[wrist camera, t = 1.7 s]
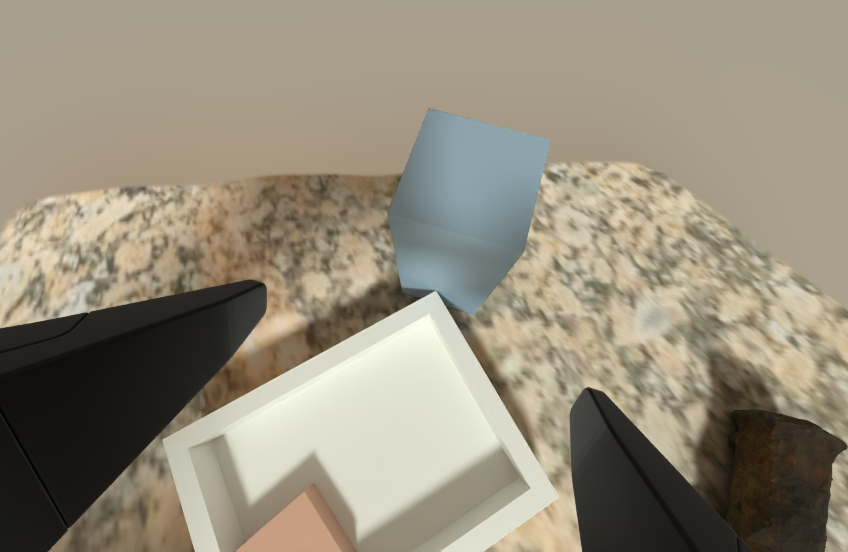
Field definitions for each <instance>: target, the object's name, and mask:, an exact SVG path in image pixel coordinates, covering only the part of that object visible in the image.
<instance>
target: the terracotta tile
mask: <svg viewBox="0 0 848 552" xmlns="http://www.w3.org/2000/svg"><path fill="white" fill-rule="evenodd" d="M235 552H357V551H356V549H355V548H354V546H353V545H352V543H351V541H350V540H349V538H348V537H347V535H346V533H345V532H344V530H343V529H342V527H341V526H340V524H339V522H338V521H337V519H336V518H335V516H334V514H333V513H332V511H331V510H330V508H329V506H328V505H327V503H326V502H325V500H324V499H323V497H322V495H321V494H320V492H319V491H318V489H317V487H316V486H315V484H314V483H313V484H311V485H310V486H309V487H308V488H307V489H306V490H305V491H303V492H302V493H301V494H300V495H299V496H298V497H296V498H295V499H294V500H293V501H292V502H291V503H290V504H288V505H287V506H286V507H285V508H284V509H283V510H282V511H280V512H279V513H278V514H277V515H276V516H275V517H273V518H272V519H271V520H270V521H269V522H268V523H267V524H265V525H264V526H263V527H262V528H261V529H260V530H258V531H257V532H256V533H255V534H254V535H253V536H252V537H250V538H249V539H248V540H247V541H246V542H245V543H244V544H243V545H242V546H240V547H239V548H238V549H237V550H236V551H235Z"/></svg>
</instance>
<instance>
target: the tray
mask: <svg viewBox="0 0 848 552" xmlns="http://www.w3.org/2000/svg"><path fill="white" fill-rule="evenodd" d="M162 441H163V444H164V447H165V451H166V454H167V458H168V461H169V465H170V468H171V471H172V475H173V478H174V482H175V485H176V488H177V492H178V495H179V499H180V502H181V506H182V509H183V512H184V516H185V519H186V523H187V526H188V530H189V533H190V536H191V540H192V543H193V547H194V550H195V552H235V551H236V550H237V549H238V548H239V547H240V546H242V545H243V544H244V543H245V542H246V541H247V540H248V539H249V538H250V537H252V536H253V535H254V534H255V533H256V532H257V531H258V530H260V529H261V528H262V527H263V526H264V525H265V524H267V523H268V522H269V521H270V520H271V519H272V518H273V517H275V516H276V515H277V514H278V513H279V512H280V511H282V510H283V509H284V508H285V507H286V506H287V505H288V504H290V503H291V502H292V501H293V500H294V499H295V498H296V497H298V496H299V495H300V494H301V493H302V492H303V491H305V490H306V489H307V488H308V487H309V486H310V485H311V484H313V483H314V484H315V486H316V487H317V489H318V491H319V492H320V494H321V495H322V497H323V499H324V500H325V502H326V503H327V505H328V506H329V508H330V510H331V511H332V513H333V514H334V516H335V518H336V519H337V521H338V522H339V524H340V526H341V527H342V529H343V530H344V532H345V533H346V535H347V537H348V538H349V540H350V541H351V543H352V545H353V546H354V548H355V549H356V551H357V552H483V551H485V550H486V549H488V548H489V547H490V546H492V545H493V544H495V543H496V542H497V541H499V540H500V539H502V538H503V537H504V536H506V535H507V534H509V533H510V532H511V531H513V530H514V529H516V528H517V527H518V526H520V525H521V524H523V523H524V522H525V521H527V520H528V519H530V518H531V517H532V516H534V515H535V514H537V513H538V512H539V511H541V510H542V509H544V508H545V507H546V506H548V505H549V504H551V503H552V502H553V501H555V500H556V499H558V498H559V496H558V495H557V493H556V491H555V490H554V488H553V486H552V485H551V483H550V481H549V479H548V478H547V476H546V474H545V473H544V471H543V469H542V468H541V466H540V464H539V463H538V461H537V459H536V458H535V456H534V454H533V453H532V451H531V449H530V448H529V446H528V444H527V442H526V441H525V439H524V437H523V436H522V434H521V432H520V431H519V429H518V427H517V426H516V424H515V422H514V421H513V419H512V417H511V416H510V414H509V412H508V411H507V409H506V407H505V405H504V404H503V402H502V400H501V399H500V397H499V395H498V394H497V392H496V390H495V389H494V387H493V385H492V384H491V382H490V380H489V379H488V377H487V375H486V374H485V372H484V370H483V369H482V367H481V365H480V363H479V362H478V360H477V358H476V357H475V355H474V353H473V352H472V350H471V348H470V347H469V345H468V343H467V342H466V340H465V338H464V337H463V335H462V333H461V332H460V330H459V328H458V326H457V325H456V323H455V321H454V320H453V318H452V316H451V315H450V313H449V311H448V310H447V308H446V306H445V305H444V303H443V301H442V300H441V298H440V296H439V295H438V293H437V291H434V292H432V293H431V294H429V295H427V296H425V297H423V298H421V299H420V300H418V301H416V302H414V303H412V304H410V305H409V306H407V307H405V308H403V309H401V310H399V311H398V312H396V313H394V314H392V315H390V316H388V317H387V318H385V319H383V320H381V321H379V322H377V323H376V324H374V325H372V326H370V327H368V328H366V329H364V330H363V331H361V332H359V333H357V334H355V335H353V336H352V337H350V338H348V339H346V340H344V341H342V342H341V343H339V344H337V345H335V346H333V347H331V348H330V349H328V350H326V351H324V352H322V353H320V354H319V355H317V356H315V357H313V358H311V359H309V360H308V361H306V362H304V363H302V364H300V365H298V366H297V367H295V368H293V369H291V370H289V371H287V372H285V373H284V374H282V375H280V376H278V377H276V378H274V379H273V380H271V381H269V382H267V383H265V384H263V385H262V386H260V387H258V388H256V389H254V390H252V391H251V392H249V393H247V394H245V395H243V396H241V397H240V398H238V399H236V400H234V401H232V402H230V403H229V404H227V405H225V406H223V407H221V408H219V409H218V410H216V411H214V412H212V413H210V414H208V415H206V416H205V417H203V418H201V419H199V420H197V421H195V422H194V423H192V424H190V425H188V426H186V427H184V428H183V429H181V430H179V431H177V432H175V433H173V434H172V435H170V436H168V437H166V438H164V439H162Z"/></svg>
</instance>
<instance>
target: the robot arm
mask: <svg viewBox="0 0 848 552" xmlns="http://www.w3.org/2000/svg"><path fill="white" fill-rule="evenodd" d="M266 308H267V289H266V285H265V284H264V283H261V282H258V281H255V280H245V281H240V282H235V283H230V284H225V285H220V286H215V287H210V288H205V289H200V290H195V291H190V292H185V293H180V294H175V295H170V296H165V297H160V298H155V299H151V300H146V301H141V302H136V303H131V304H126V305H121V306H116V307H111V308H106V309H101V310H96V311H91V312H90V313H81V314H76V315H71V316H66V317H61V318H56V319H50V320H45V321H40V322H35V323H29V324H23V325H17V326H12V327H6V328H0V552H48V551H49V550H50V549H51V548H52V547H53V546H54V545H55V544H56V542H57V541H58V540H59V539H60V538H61V537H62V536H63V535H64V534H65V533H66V532H67V531H68V528H70V527H71V526H72V525H73V524H74V523H75V522H76V521H77V520H78V519H79V518H80V517H81V516H82V515H83V514H84V513H85V511H86V510H87V509H88V508H89V507H90V506H91V505H92V504H93V503H94V502H95V501H96V500H97V499H98V498H99V497H100V496H101V495H102V494H103V493H104V491H105V490H106V489H107V488H108V487H109V486H110V485H111V484H112V483H113V482H114V481H115V480H116V479H117V478H118V477H119V476H120V475H121V474H122V472H123V471H124V470H125V469H126V468H127V467H128V466H129V465H130V464H131V463H132V462H133V461H134V460H135V459H136V458H137V457H138V456H139V455H140V453H141V452H142V451H143V450H144V449H145V448H146V447H147V446H148V445H149V444H150V443H151V442H152V441H153V440H154V439H155V438H156V437H157V436H158V435H159V433H160V432H161V431H162V430H163V429H164V428H165V427H166V426H167V425H168V424H169V423H170V422H171V421H172V420H173V419H174V418H175V417H176V416H177V414H178V413H179V412H180V411H181V410H182V409H183V408H184V407H185V406H186V405H187V404H188V403H189V402H190V401H191V400H192V399H193V398H194V397H195V396H196V394H197V393H198V392H199V391H200V390H201V389H202V388H203V387H204V386H205V385H206V384H207V383H208V382H209V381H210V380H211V379H212V378H213V377H214V375H215V374H216V373H217V372H218V371H219V370H220V369H221V368H222V367H223V366H224V365H225V364H226V363H227V362H228V361H229V359H230V358H231V357H232V356H233V355H234V354H235V352H236V351H237V350H238V348H239V347H240V346H241V345H242V343H243V342H244V341H245V339H246V338H247V337H248V335H249V334H250V333H251V332H252V330H253V329H254V328H255V326H256V325H257V324H258V322H259V321H260V320H261V319H262V317H263V316H264V314H265V312H266ZM570 445H571V472H572V482H573V489H574V496H575V504H576V511H577V518H578V525H579V532H580V539H581V546H582V552H753V550H752V549H751V548H750V547H749V546H748V545H747V544H746V543H745V542H744V541H743V540H742V539H741V538H740V537H737V535H736V533H735V531H734V530H733V529H732V528H731V527H730V526H729V525H728V524H727V523H726V522H725V521H724V520H723V519H722V518H721V516H720V515H719V514H718V513H717V512H716V511H715V510H714V509H713V508H712V507H711V506H710V505H709V504H708V503H707V502H706V501H705V499H704V498H703V497H702V496H701V495H700V494H699V493H698V492H697V491H696V490H695V489H694V488H693V487H692V486H691V485H690V483H689V482H688V481H687V480H686V479H685V478H684V477H683V476H682V475H681V474H680V473H679V472H678V471H677V470H676V469H675V468H674V466H673V465H672V464H671V463H670V462H669V461H668V460H667V459H666V458H665V457H664V456H663V455H662V454H661V453H660V452H659V451H658V449H657V448H656V447H655V446H654V445H653V444H652V443H651V442H650V441H649V440H648V439H647V438H646V437H645V436H644V435H643V433H642V432H641V431H640V430H639V429H638V428H637V427H636V426H635V425H634V424H633V423H632V422H631V421H630V420H629V419H628V418H627V416H626V415H625V414H624V413H623V412H622V411H621V410H620V409H619V408H618V407H617V406H616V405H615V404H614V403H613V402H612V401H611V399H610V398H609V397H608V396H607V395H606V394H605V393H604V392H602V391H599V390H596V389H593V388H590V387H587V388H585V389H584V390H583V391H582V392H581V394H580V396H579V397H578V399H577V400H576V402H575V403H574V405H573V406H572V408H571V411H570Z"/></svg>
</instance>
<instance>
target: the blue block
mask: <svg viewBox="0 0 848 552" xmlns="http://www.w3.org/2000/svg"><path fill="white" fill-rule="evenodd" d="M549 144H550V140H549V139H545V138H541V137H537V136H534V135H530V134H526V133H522V132H518V131H515V130H511V129H507V128H503V127H499V126H495V125H491V124H488V123H484V122H480V121H476V120H472V119H469V118H464V117H461V116H457V115H453V114H449V113H445V112H442V111H438V110H434V109H430V108H429V109H428V111H427V114H426V117H425V119H424V122H423V124H422V127H421V129H420V132H419V134H418V137H417V139H416V142H415V145H414V147H413V149H412V152H411V154H410V157H409V160H408V162H407V165H406V167H405V170H404V172H403V175H402V177H401V180H400V182H399V185H398V187H397V190H396V192H395V195H394V197H393V200H392V202H391V205H390V208H389V210H388V219H389V224H390V229H391V235H392V240H393V245H394V250H395V256H396V261H397V266H398V272H399V277H400V282H401V287H402V293H405V294H408V295H412V296H415V297H418V298H423V297H425V296H427V295H429V294H431V293H432V292H434V291H437V293H438V295H439V296H440V298H441V300H442V301H443V303H444V305H445V306H447V307H450V308H453V309H457V310H460V311H463V312H466V313H469V314H473V315H474V314H475V313H476V311H477V310H478V309H479V308H480V306H481V305H482V304H483V303H484V301H485V300H486V299H487V298H488V296H489V295H490V294H491V293H492V291H493V290H494V289H495V288H496V286H497V285H498V284H499V283H500V281H501V280H502V279H503V278H504V276H505V275H506V274H507V273H508V271H509V270H510V269H511V268H512V266H513V265H514V264H515V263H516V261H517V260H518V259H519V258H520V256H521V255H522V254H523V253H524V249H525V244H526V240H527V236H528V232H529V228H530V223H531V219H532V215H533V211H534V207H535V203H536V198H537V194H538V190H539V186H540V182H541V177H542V173H543V169H544V165H545V161H546V157H547V152H548V148H549Z"/></svg>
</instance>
